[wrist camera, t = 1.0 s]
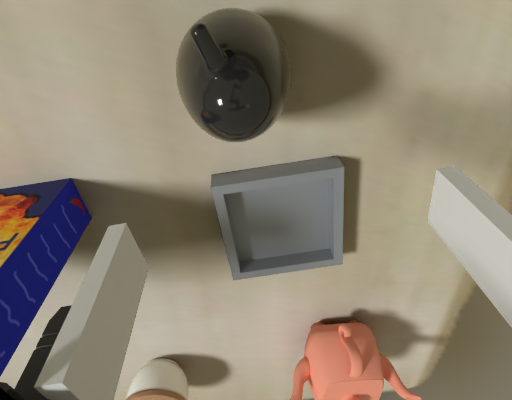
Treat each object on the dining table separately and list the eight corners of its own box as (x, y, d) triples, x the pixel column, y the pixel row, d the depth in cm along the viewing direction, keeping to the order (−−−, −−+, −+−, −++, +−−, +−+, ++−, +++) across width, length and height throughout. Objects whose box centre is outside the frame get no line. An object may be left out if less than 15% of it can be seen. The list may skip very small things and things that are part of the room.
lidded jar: (191, 350, 60) (186, 405, 52) (191, 382, 65) (187, 436, 58) (130, 350, 58) (115, 407, 51) (135, 383, 64) (123, 438, 56)
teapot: (391, 332, 61) (425, 405, 51) (319, 370, 67) (337, 443, 56) (347, 295, 55) (376, 370, 44) (271, 340, 60) (280, 417, 49)
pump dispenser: (257, -19, 30) (279, -20, 17) (297, 87, 35) (336, 146, 23) (160, 34, 32) (116, 69, 19) (213, 127, 37) (205, 202, 24)
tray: (211, 174, 40) (210, 187, 38) (337, 155, 40) (344, 167, 38) (233, 265, 49) (233, 280, 46) (336, 249, 49) (342, 264, 46)
